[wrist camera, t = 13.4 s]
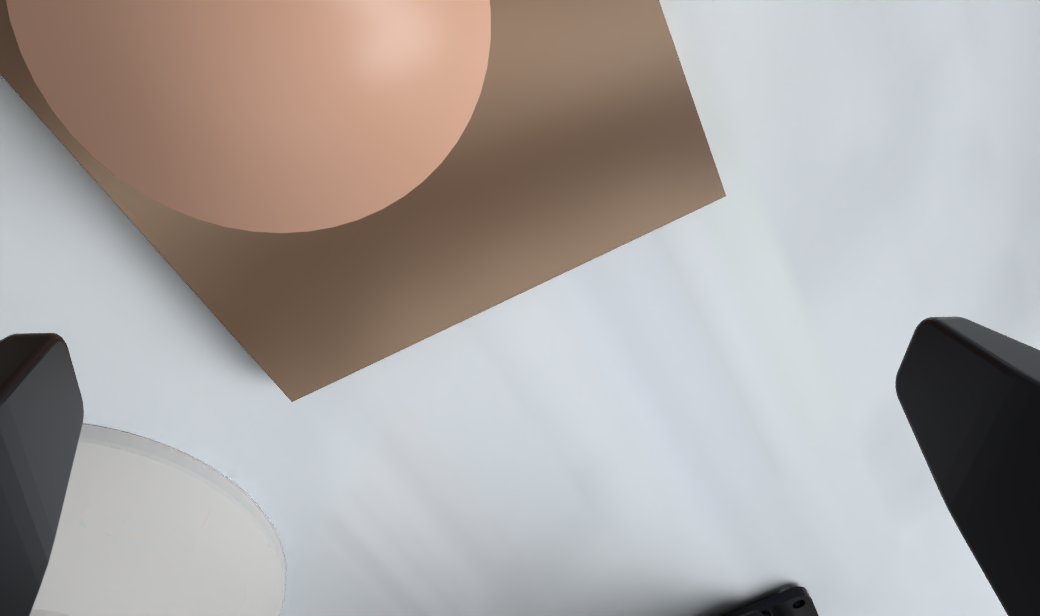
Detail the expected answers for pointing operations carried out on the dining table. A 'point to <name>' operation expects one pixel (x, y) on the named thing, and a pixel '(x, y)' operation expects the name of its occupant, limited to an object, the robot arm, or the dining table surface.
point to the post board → (454, 196)
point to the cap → (261, 98)
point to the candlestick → (157, 537)
